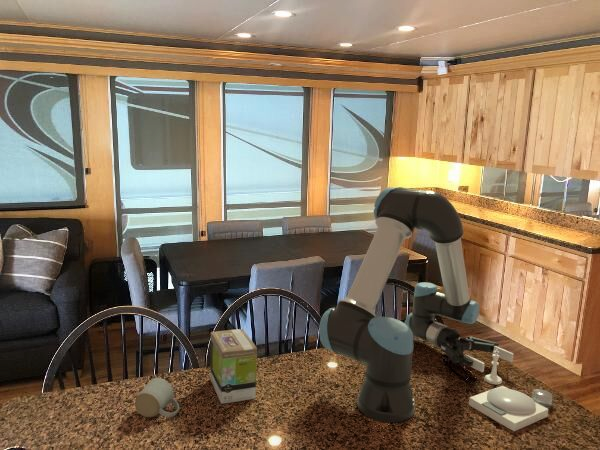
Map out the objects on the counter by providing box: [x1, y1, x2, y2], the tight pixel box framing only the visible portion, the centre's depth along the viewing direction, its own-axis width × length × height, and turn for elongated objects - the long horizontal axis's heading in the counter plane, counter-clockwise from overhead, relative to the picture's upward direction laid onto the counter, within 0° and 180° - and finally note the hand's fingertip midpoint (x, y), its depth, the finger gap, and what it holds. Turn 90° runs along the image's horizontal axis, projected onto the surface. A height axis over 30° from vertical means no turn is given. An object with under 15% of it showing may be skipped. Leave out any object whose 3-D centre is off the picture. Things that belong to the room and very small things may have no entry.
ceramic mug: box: [134, 377, 180, 418], centre depth 127 cm, size 10×8×7 cm
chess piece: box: [483, 349, 503, 385], centre depth 150 cm, size 5×5×10 cm
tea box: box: [209, 328, 258, 404], centre depth 139 cm, size 15×10×15 cm
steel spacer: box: [531, 388, 553, 409], centre depth 138 cm, size 5×5×3 cm
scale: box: [468, 385, 549, 432], centre depth 134 cm, size 14×14×3 cm
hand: (498, 362), depth 149 cm, fingers open, 13 cm apart
